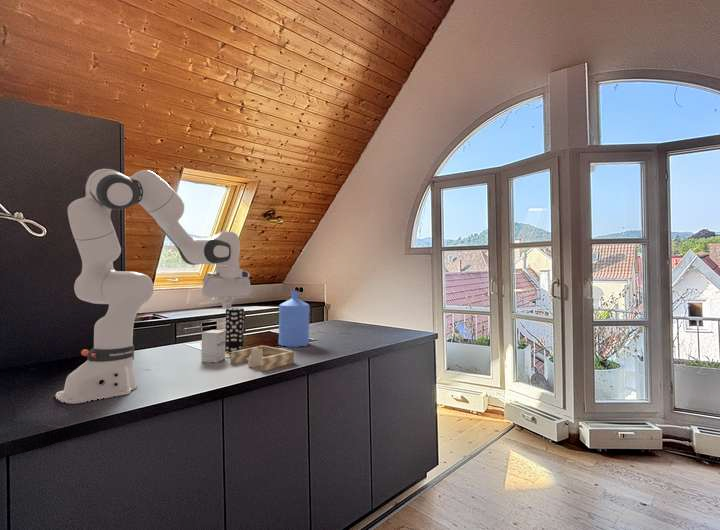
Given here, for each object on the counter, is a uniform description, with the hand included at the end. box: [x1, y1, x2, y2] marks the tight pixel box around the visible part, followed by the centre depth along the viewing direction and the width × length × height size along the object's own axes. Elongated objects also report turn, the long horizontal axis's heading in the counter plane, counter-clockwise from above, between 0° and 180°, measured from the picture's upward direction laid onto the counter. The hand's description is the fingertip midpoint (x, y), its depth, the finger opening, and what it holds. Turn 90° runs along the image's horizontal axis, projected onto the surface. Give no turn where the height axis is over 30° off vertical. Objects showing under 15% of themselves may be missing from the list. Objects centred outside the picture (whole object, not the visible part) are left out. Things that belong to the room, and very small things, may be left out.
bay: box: [230, 345, 295, 372], centre depth 177 cm, size 18×19×5 cm
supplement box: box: [200, 329, 226, 364], centre depth 181 cm, size 7×7×13 cm
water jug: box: [277, 290, 311, 348], centre depth 218 cm, size 16×16×28 cm
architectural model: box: [246, 348, 264, 368], centre depth 174 cm, size 3×7×7 cm, turn 139°
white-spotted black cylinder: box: [225, 307, 245, 353], centre depth 201 cm, size 8×8×20 cm
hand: (226, 308), depth 165 cm, fingers closed
